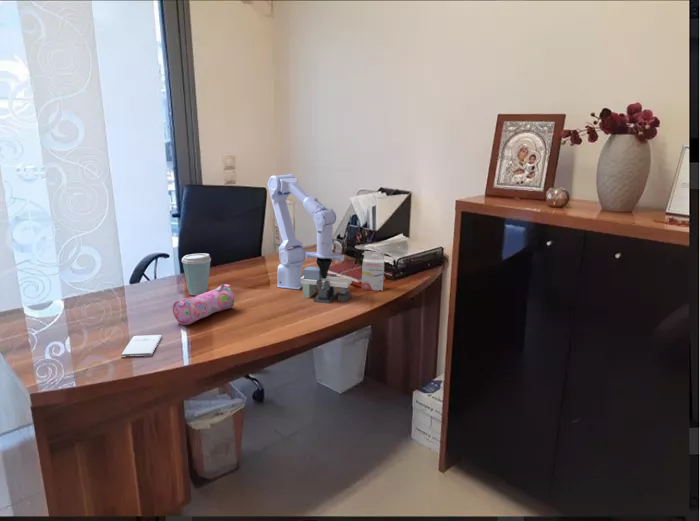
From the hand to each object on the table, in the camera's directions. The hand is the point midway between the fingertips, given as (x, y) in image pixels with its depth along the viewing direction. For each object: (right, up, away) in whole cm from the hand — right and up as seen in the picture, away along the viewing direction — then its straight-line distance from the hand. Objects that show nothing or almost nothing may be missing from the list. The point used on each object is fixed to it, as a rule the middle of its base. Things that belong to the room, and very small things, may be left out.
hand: (324, 277), depth 186 cm
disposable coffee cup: (-48, -6, +3) cm, 48 cm away
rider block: (-4, 0, +1) cm, 4 cm away
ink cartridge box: (+19, -5, +12) cm, 23 cm away
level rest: (-6, -7, +3) cm, 10 cm away
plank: (+1, -2, 0) cm, 3 cm away
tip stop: (+8, -8, 0) cm, 11 cm away
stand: (+1, -7, +2) cm, 7 cm away
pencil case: (-39, -12, -19) cm, 45 cm away
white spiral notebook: (-50, -19, -42) cm, 69 cm away
